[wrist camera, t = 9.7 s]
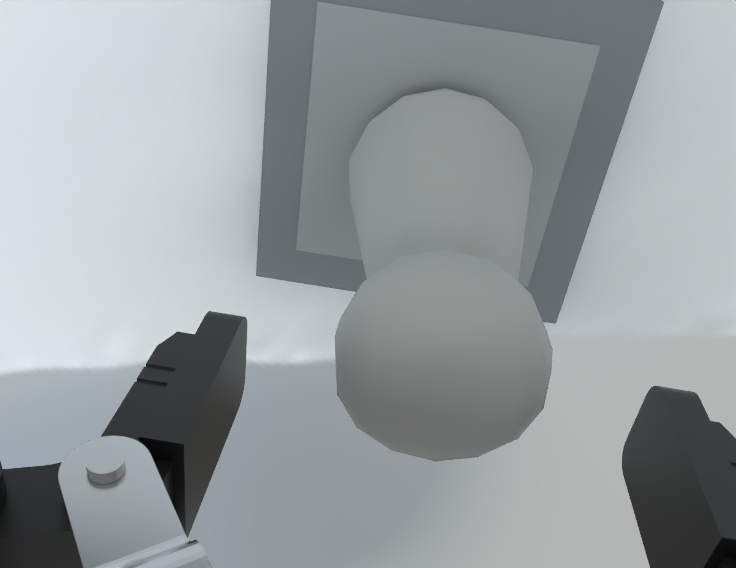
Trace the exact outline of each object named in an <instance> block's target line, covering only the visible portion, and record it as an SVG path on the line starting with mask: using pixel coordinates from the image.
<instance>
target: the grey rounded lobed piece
mask: <svg viewBox="0 0 736 568" xmlns="http://www.w3.org/2000/svg"><path fill="white" fill-rule="evenodd" d="M532 173H533V166H532V164H531V161H530V158H529V155H528V153H527V150H526V147H525V145H524V142H523V139H522V136H521V134H520V131H519V129H518V128H517V127H516V126H515V125H514V124H513V123H512V122H511V121H510V120H508V119H507V118H506V117H505V116H504V115H503V114H502V113H501V112H500V111H498V110H497V109H496V108H495V107H494V106H493V105H492V104H491V103H490V102H488V101H487V100H486V99H484V98H480V97H476V96H473V95H469V94H465V93H462V92H458V91H454V90H450V89H447V88H444V89H438V90H433V91H428V92H422V93H417V94H411V95H406V96H403V97H402V98H400V99H399V100H398V101H396V102H395V103H394V104H392V105H391V106H390V107H388V108H387V109H386V110H384V111H383V112H382V113H380V114H379V115H378V116H376V117H375V118H374V119H372V120H371V121H370V122H369V123H368V125H367V127H366V129H365V131H364V132H363V134H362V136H361V138H360V140H359V142H358V144H357V146H356V148H355V149H354V151H353V153H352V155H351V157H350V159H349V189H350V202H351V207H352V211H353V216H354V221H355V226H356V231H357V236H358V240H359V245H360V250H361V255H362V260H363V265H364V269H365V274H366V280H365V281H364V282H363V283H362V284H361V286H360V287H359V289H358V291H357V292H356V294H355V295H354V297H353V299H352V300H351V302H350V304H349V305H348V307H347V309H346V310H345V312H344V314H343V315H342V317H341V319H340V322H339V325H338V328H337V331H336V334H335V355H336V380H337V395H338V396H339V398H340V400H341V401H342V403H343V405H344V407H345V408H346V410H347V412H348V413H349V415H350V417H351V418H352V420H353V422H354V423H355V425H356V427H357V428H358V429H360V430H362V431H363V432H365V433H366V434H368V435H369V436H371V437H372V438H374V439H375V440H377V441H378V442H380V443H381V444H383V445H384V446H386V447H388V448H389V449H391V450H393V451H397V452H401V453H405V454H409V455H413V456H417V457H421V458H425V459H429V460H433V461H442V460H453V459H463V458H472V457H479V456H481V455H483V454H485V453H487V452H489V451H492V450H494V449H496V448H498V447H501V446H503V445H505V444H507V443H509V442H512V441H514V440H516V439H518V438H519V437H520V435H521V434H522V433H523V432H524V431H525V429H526V428H527V427H528V426H529V424H531V422H532V421H533V420H534V419H535V418H536V416H537V415H538V414H539V413H540V412H541V411H542V409H543V408H544V403H545V398H546V394H547V389H548V383H549V379H550V374H551V365H552V347H551V344H550V341H549V337H548V334H547V331H546V329H545V326H544V324H543V322H542V319H541V317H540V314H539V312H538V310H537V307H536V305H535V302H534V300H533V298H532V295H531V293H530V292H529V291H528V290H527V289H526V288H525V287H523V286H522V285H521V284H520V283H519V282H518V279H519V271H520V264H521V256H522V249H523V241H524V233H525V226H526V218H527V211H528V203H529V196H530V188H531V180H532Z"/></svg>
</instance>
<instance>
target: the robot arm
mask: <svg viewBox="0 0 736 568" xmlns="http://www.w3.org/2000/svg"><path fill="white" fill-rule="evenodd" d="M246 343H247V319H246V317H241V316H235V315H229V314H223V313H217V312H211V311H209V312H208V313H207V314H206V315H205V317H204V319H203V321H202V323H201V324H200V326H199V328H198V330H197V332H196V333H195V335H194V334H188V333H182V332H176V333H175V334H174V335H172V336H171V337H169V338H168V339H166V340H165V341H163V342H162V343H161V344H159V345H158V346H157V347H156V349H155V350H154V352H153V354H152V355H151V357H150V358H149V360H148V362H147V363H146V367H144V368H143V370H142V371H141V373H140V375H139V376H138V378H137V382H135V383H134V384H133V386H132V387H131V389H130V391H129V392H128V394H127V396H126V397H125V399H124V400H123V402H122V404H121V405H120V407H119V408H118V410H117V412H116V413H115V415H114V416H113V418H112V420H111V421H110V423H109V425H108V426H107V428H106V429H105V431H104V433H103V434H102V436H101V437H100V438H95V439H92V440H89V441H87V442H85V443H83V444H81V445H79V446H78V447H76V448H74V449H73V450H72V451H71V452H70V453H69V454H68V455H67V456H66V457H65V458H64V460H63V461H62V462H61V463H57V464H52V465H45V466H36V467H24V468H12V469H2V466H1V462H0V568H212V566H211V564H210V562H209V560H208V558H207V555H206V553H205V551H204V549H203V547H202V546H201V544H200V543H199V542H198V541H197V540H194V541H191V542H190V541H189V540H188V535H189V533H190V530H191V528H192V525H193V523H194V520H195V517H196V515H197V512H198V510H199V507H200V505H201V503H202V500H203V497H204V495H205V492H206V490H207V487H208V485H209V482H210V480H211V477H212V475H213V472H214V470H215V467H216V465H217V462H218V460H219V457H220V455H221V452H222V449H223V447H224V444H225V442H226V439H227V437H228V434H229V431H230V429H231V427H232V424H233V422H234V419H235V416H236V414H237V411H238V409H239V406H240V403H241V399H242V395H243V390H244V383H245V368H246ZM622 470H623V475H624V479H625V482H626V485H627V489H628V493H629V496H630V499H631V503H632V506H633V510H634V513H635V517H636V520H637V524H638V527H639V530H640V534H641V538H642V541H643V544H644V547H645V551H646V555H647V558H648V562H649V565H650V568H736V439H735V438H734V437H733V435H732V434H731V433H730V432H729V431H728V430H727V429H726V428H725V427H724V426H723V425H722V424H720V423H719V422H713V421H710V420H709V417H708V415H707V413H706V411H705V409H704V407H703V405H702V403H701V400H700V398H699V397H698V395H697V394H696V393H694V392H690V391H684V390H678V389H672V388H666V387H660V386H653V387H652V388H651V389H650V390H649V391H648V393H647V395H646V397H645V399H644V402H643V404H642V406H641V408H640V411H639V413H638V415H637V417H636V419H635V422H634V424H633V426H632V428H631V431H630V433H629V435H628V438H627V440H626V442H625V445H624V449H623V456H622Z"/></svg>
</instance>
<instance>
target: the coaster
mask: <svg viewBox="0 0 736 568" xmlns="http://www.w3.org/2000/svg"><path fill="white" fill-rule="evenodd" d="M663 4H664V2H663V1H661V0H271V9H270V28H269V47H268V65H267V84H266V103H265V122H264V140H263V159H262V178H261V196H260V215H259V234H258V252H257V271H256V276H261V277H267V278H273V279H279V280H286V281H292V282H298V283H304V284H311V285H317V286H323V287H330V288H336V289H342V290H348V291H355V292H357V291H358V289H359V287H360V286H361V284H362V283H363V282H364V281H365V280H366V274H365V269H364V265H363V260H362V255H361V250H360V245H359V240H358V236H357V231H356V226H355V221H354V216H353V211H352V207H351V202H350V189H349V159H350V157H351V155H352V153H353V151H354V149H355V148H356V146H357V144H358V142H359V140H360V138H361V136H362V134H363V132H364V131H365V129H366V127H367V125H368V123H369V122H370V121H371V120H372V119H374V118H375V117H376V116H378V115H379V114H380V113H382V112H383V111H384V110H386V109H387V108H388V107H390V106H391V105H392V104H394V103H395V102H396V101H398V100H399V99H400V98H402V97H403V96H406V95H411V94H417V93H422V92H428V91H433V90H438V89H444V88H447V89H450V90H454V91H458V92H462V93H465V94H469V95H473V96H476V97H480V98H484V99H486V100H487V101H488V102H490V103H491V104H492V105H493V106H494V107H495V108H496V109H497V110H498V111H500V112H501V113H502V114H503V115H504V116H505V117H506V118H507V119H508V120H510V121H511V122H512V123H513V124H514V125H515V126H516V127H517V128H518V129H519V131H520V134H521V136H522V139H523V142H524V145H525V147H526V150H527V153H528V155H529V158H530V161H531V164H532V166H533V173H532V180H531V188H530V196H529V203H528V211H527V218H526V226H525V233H524V241H523V249H522V256H521V264H520V271H519V279H518V282H519V283H520V284H521V285H522V286H523V287H525V288H526V289H527V290H528V291H529V292H530V293H531V295H532V298H533V300H534V302H535V305H536V307H537V310H538V312H539V314H540V317H541V319H542V321H543V322H550V323H556V321H557V318H558V315H559V312H560V309H561V306H562V303H563V300H564V297H565V294H566V291H567V288H568V285H569V282H570V279H571V276H572V274H573V271H574V268H575V265H576V262H577V259H578V256H579V253H580V250H581V247H582V244H583V241H584V238H585V235H586V232H587V229H588V226H589V223H590V220H591V217H592V214H593V211H594V208H595V205H596V202H597V199H598V196H599V193H600V190H601V187H602V185H603V182H604V179H605V176H606V173H607V170H608V167H609V164H610V161H611V158H612V155H613V152H614V149H615V146H616V143H617V140H618V137H619V134H620V131H621V128H622V125H623V122H624V119H625V116H626V113H627V110H628V107H629V104H630V101H631V98H632V96H633V93H634V90H635V87H636V84H637V81H638V78H639V75H640V72H641V69H642V66H643V63H644V60H645V57H646V54H647V51H648V48H649V45H650V42H651V39H652V36H653V33H654V30H655V27H656V24H657V21H658V18H659V15H660V12H661V9H662V7H663Z"/></svg>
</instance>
